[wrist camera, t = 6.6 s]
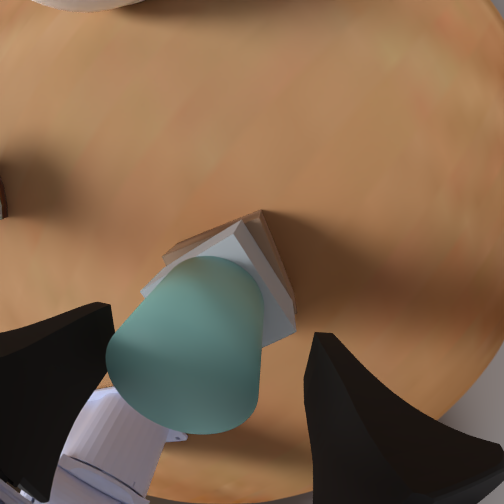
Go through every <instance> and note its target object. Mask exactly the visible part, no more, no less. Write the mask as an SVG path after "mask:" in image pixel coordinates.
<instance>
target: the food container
mask: <svg viewBox="0 0 504 504" xmlns="http://www.w3.org/2000/svg"><path fill="white" fill-rule="evenodd" d="M7 217H8V214H7V202H6V196H5V190H4V186H3V183H2V180H1V177H0V220H1V219H4V218H7Z"/></svg>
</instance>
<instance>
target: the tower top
mask: <svg viewBox="0 0 504 504" xmlns="http://www.w3.org/2000/svg"><path fill="white" fill-rule="evenodd" d="M197 256H215V257H220V258H224V259H227V260H229V261H231V262H234V263H235V264H237V265H239V266H240V267H242V268H243V269H244V270H246V271H247V272H248V273H249V274H250V275H251V276H252V278H253V279H254V280H255V281H256V283H257V285H258V286H259V288H260V291H261V293H262V296H263V300H264V319H263V335H262V348H263V347H265V346H267V345H270V344H272V343H274V342H276V341H278V340H280V339H282V338H285V337H287V336H289V335H291V334H293V333H295V332H296V324H295V316H294V308H293V301H292V299H291V298H290V296H289V294H288V293H287V291H286V290H285V288H284V286H283V285H282V283H281V282H280V280H279V278H278V277H277V275H276V274H275V272H274V270H273V269H272V267H271V266H270V264H269V262H268V261H267V259H266V258H265V256H264V254H263V253H262V251H261V250H260V248H259V246H258V245H257V243H256V242H255V240H254V238H253V237H252V235H251V234H250V232H249V231H248V229H247V227H246V226H245V224H244V223H243V221H242V219H241V220H240V221H238V222H236V223H235V224H233V225H232V226H230V227H228V228H227V229H225V230H223V231H222V232H220V233H218V234H217V235H215V236H214V237H212V238H210V239H209V240H207V241H205V242H204V243H202V244H201V245H199V246H197V247H196V248H194V249H193V250H191V251H189V252H188V253H186V254H185V255H183V256H182V257H180V258H178V259H177V260H175V261H174V262H172V263H171V264H169V265H167V266H166V267H164V268H163V269H162V270H161V271H160V272H159V273H158V274H157V275H156V276H155V277H154V278H153V279H152V280H151V281H150V282H149V283H148V284H147V285H146V286H145V287H144V288H143V289H142V290H141V291H140V292H141V294H142V295H143V296H144V298H146V297H147V296H148V295H149V294H150V293H151V292H152V291H153V289H154V288H155V287H156V286H157V285H158V284H159V283H160V282H161V281H162V280H163V278H164V277H165V276H166V275H167V274H168V273H169V272H170V271H171V270H172V269H173V268H174V267H175V266H176V265H178V264H179V263H181V262H183V261H184V260H187V259H189V258H193V257H197Z"/></svg>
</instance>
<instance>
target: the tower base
mask: <svg viewBox="0 0 504 504" xmlns="http://www.w3.org/2000/svg"><path fill="white" fill-rule="evenodd" d="M241 219H242V221H243V223H244V224H245V226H246V227H247V229H248V231H249V232H250V234H251V235H252V237H253V238H254V240H255V242H256V243H257V245H258V246H259V248H260V250H261V251H262V253H263V254H264V256H265V258H266V259H267V261H268V262H269V264H270V266H271V267H272V269H273V270H274V272H275V274H276V275H277V277H278V278H279V280H280V282H281V283H282V285H283V286H284V288H285V290H286V291H287V293H288V294H289V296H290V298H291V299H292V301H293V308H294V314H296V313H297V309H296V303H295V296H294V291H293V289H292V286H291V284H290V281H289V278H288V276H287V273H286V271H285V268H284V266H283V263H282V260H281V258H280V255H279V253H278V250H277V248H276V245H275V243H274V240H273V238H272V235H271V233H270V230H269V228H268V225H267V223H266V220H265V218H264V215H263V213H262V210H258V211H256V212H253V213H251V214H248V215H246V216H243V217H240V218H238V219H235V220H233V221H230V222H228V223H225V224H223V225H220V226H218V227H216V228H213V229H211V230H208V231H206V232H203V233H201V234H198V235H196V236H194V237H191V238H189V239H186V240H184V241H182V242H179V243H177V244H176V245H175V246H174V247H173V248H171V249H170V250H169V251H168V252H167V253H166V254H164V255H163V256H162V258H163V260H164V262H165V264H166V266H167V265H169V264H171V263H172V262H174V261H175V260H177V259H178V258H180V257H182V256H183V255H185V254H186V253H188V252H189V251H191V250H193V249H194V248H196V247H197V246H199V245H201V244H202V243H204V242H205V241H207V240H209V239H210V238H212V237H214V236H215V235H217V234H218V233H220V232H222V231H223V230H225V229H227V228H228V227H230V226H232V225H233V224H235V223H236V222H238V221H240V220H241Z"/></svg>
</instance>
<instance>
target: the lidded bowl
mask: <svg viewBox="0 0 504 504" xmlns="http://www.w3.org/2000/svg"><path fill="white" fill-rule="evenodd" d="M32 1H34V2H37V3H39V4H42V5H45V6H49V7H52V8H55V9H58V10H63V11H69V12H82V13H90V12H100V11H107V10H112V9H116V8H119V7H122V6H126V5H132V4H135V3H139V2H142V1H144V0H32Z"/></svg>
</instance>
